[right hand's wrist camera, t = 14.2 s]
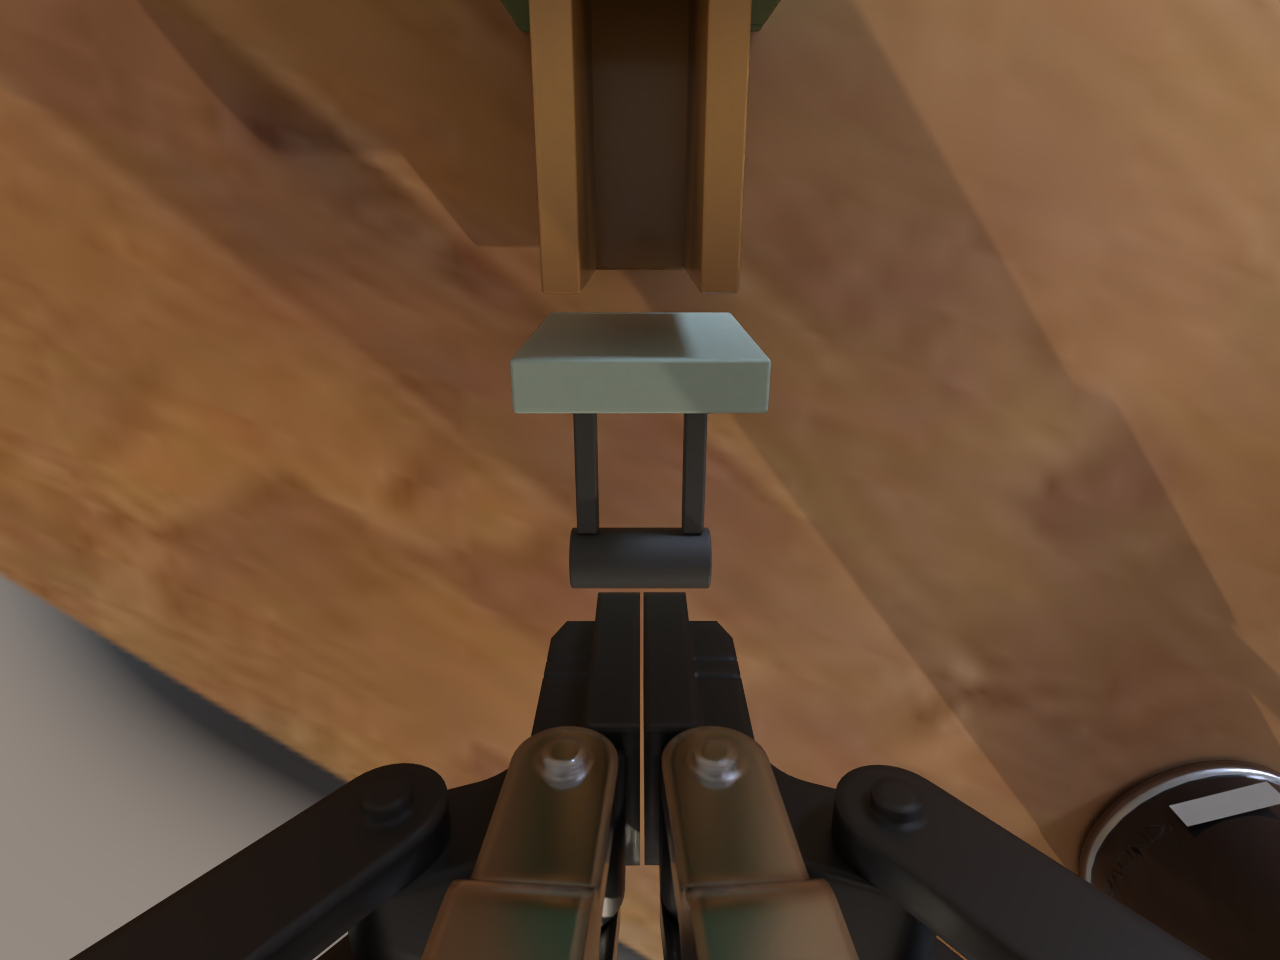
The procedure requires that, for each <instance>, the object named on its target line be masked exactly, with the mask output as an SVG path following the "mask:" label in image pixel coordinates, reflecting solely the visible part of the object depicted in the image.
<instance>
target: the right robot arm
mask: <svg viewBox="0 0 1280 960" xmlns="http://www.w3.org/2000/svg"><path fill="white" fill-rule="evenodd" d="M643 692H644V838H645V865H659V870H660V928H661V937H662V946H663V955H664V960H964V959H962V958H961V957H960V956H959V955H957V954H956V953H955V952H954V951H952V950H951V949H950V948H949V947H947V946H946V945H945V944H944V943H942V942H941V941H940V940H939V939H937V938H936V936H937V935H938V936H939V937H940V938H941V939H943V940H944V941H945V942H946V943H948V944H949V945H950V946H951V947H953V948H954V949H955V950H956V951H958V952H959V953H960V954H961V955H963V956H964V957H965V958H966V959H968V960H1280V773H1278V772H1276V771H1274V770H1272V769H1269V768H1267V767H1264V766H1261V765H1257V764H1253V763H1249V762H1243V761H1232V760H1216V761H1205V762H1198V763H1193V764H1188V765H1184V766H1180V767H1177V768H1173V769H1170V770H1168V771H1165V772H1162V773H1160V774H1157V775H1155V776H1153V777H1151V778H1149V779H1147V780H1145V781H1143V782H1141V783H1139V784H1138V785H1136V786H1135V787H1133V788H1131V789H1130V790H1128V791H1127V792H1126V793H1124V794H1123V795H1122V796H1120V797H1119V798H1118V799H1117V800H1115V801H1114V802H1113V803H1112V804H1111V805H1110V806H1109V807H1108V808H1107V809H1106V810H1105V811H1104V812H1103V813H1102V814H1101V816H1100V817H1099V818H1098V819H1097V821H1096V822H1095V823H1094V825H1093V826H1092V828H1091V829H1090V831H1089V833H1088V835H1087V837H1086V839H1085V841H1084V844H1083V847H1082V850H1081V854H1080V860H1079V875H1080V876H1078V875H1076V874H1075V873H1073V872H1072V871H1070V870H1069V869H1067V868H1065V867H1064V866H1062V865H1061V864H1059V863H1058V862H1056V861H1054V860H1053V859H1051V858H1050V857H1048V856H1047V855H1045V854H1043V853H1042V852H1040V851H1039V850H1037V849H1036V848H1034V847H1032V846H1031V845H1029V844H1028V843H1026V842H1025V841H1023V840H1021V839H1020V838H1018V837H1017V836H1015V835H1013V834H1012V833H1010V832H1009V831H1007V830H1006V829H1004V828H1002V827H1001V826H999V825H998V824H996V823H995V822H993V821H991V820H990V819H988V818H987V817H985V816H984V815H982V814H980V813H979V812H977V811H976V810H974V809H973V808H971V807H969V806H968V805H966V804H965V803H963V802H961V801H960V800H958V799H957V798H955V797H954V796H952V795H950V794H949V793H947V792H946V791H944V790H943V789H941V788H939V787H938V786H936V785H935V784H933V783H932V782H930V781H928V780H927V779H925V778H923V777H921V776H920V775H918V774H915V773H913V772H911V771H908V770H905V769H902V768H898V767H893V766H886V765H869V766H863V767H859V768H856V769H854V770H852V771H850V772H848V773H847V774H846V775H844V776H843V777H842V778H841V780H840V781H839V783H838V785H837V788H836V789H834V788H830V787H826V786H822V785H818V784H814V783H810V782H806V781H803V780H799V779H797V778H794V777H792V776H790V775H787V774H786V773H784V772H782V771H780V770H779V769H777V768H776V767H775V766H773V765H772V764H771V763H770V762H769V759H768V757H767V755H766V752H765V751H764V750H763V748H762V747H761V746H760V745H759V744H758V743H757V742H756V741H755V740H754V736H753V731H752V727H751V722H750V717H749V713H748V708H747V703H746V699H745V694H744V689H743V685H742V680H741V678H740V671H739V666H738V662H737V657H736V652H735V648H734V643H733V638H732V637H731V636H730V635H729V634H728V633H727V632H726V631H725V630H724V629H723V627H722V626H721V625H720V624H719V623H718V622H717V621H689V619H688V610H687V602H686V594H685V592H644V662H643ZM625 865H640V592H599V593H598V599H597V609H596V618H595V621H567V622H566V623H565V624H564V625H563V626H562V627H561V628H560V629H559V631H558V632H557V633H556V634H555V635H554V636H553V637H552V638H551V642H550V647H549V652H548V657H547V662H546V667H545V671H544V678H543V681H542V686H541V691H540V696H539V701H538V705H537V710H536V715H535V720H534V725H533V730H532V735H531V737H529V738H528V739H527V740H525V741H524V742H523V743H522V744H521V745H520V746H519V747H518V748H517V750H516V751H515V752H514V755H513V757H512V759H511V762H510V765H509V768H508V769H507V770H505V771H503V772H502V773H500V774H498V775H496V776H494V777H491V778H489V779H487V780H483V781H480V782H477V783H473V784H469V785H465V786H461V787H457V788H452V789H448V790H447V787H446V784H445V782H444V780H443V779H442V777H441V776H440V775H439V774H438V773H437V772H435V771H434V770H432V769H430V768H428V767H425V766H422V765H418V764H410V763H400V764H391V765H386V766H382V767H379V768H376V769H373V770H370V771H368V772H366V773H364V774H362V775H360V776H358V777H356V778H355V779H353V780H352V781H350V782H348V783H347V784H345V785H344V786H342V787H341V788H339V789H337V790H336V791H334V792H333V793H331V794H330V795H328V796H327V797H325V798H323V799H322V800H320V801H319V802H317V803H315V804H314V805H312V806H311V807H309V808H308V809H306V810H304V811H303V812H301V813H300V814H298V815H297V816H295V817H293V818H292V819H290V820H289V821H287V822H285V823H284V824H282V825H281V826H279V827H278V828H276V829H275V830H273V831H271V832H270V833H268V834H267V835H265V836H263V837H262V838H260V839H259V840H257V841H256V842H254V843H252V844H251V845H249V846H248V847H246V848H244V849H243V850H241V851H240V852H238V853H237V854H235V855H233V856H232V857H230V858H229V859H227V860H226V861H224V862H222V863H221V864H219V865H218V866H216V867H215V868H213V869H211V870H210V871H208V872H207V873H205V874H204V875H202V876H200V877H199V878H197V879H196V880H194V881H193V882H191V883H189V884H188V885H186V886H185V887H183V888H181V889H180V890H178V891H177V892H175V893H174V894H172V895H171V896H169V897H167V898H166V899H164V900H163V901H161V902H159V903H158V904H156V905H155V906H153V907H152V908H150V909H148V910H147V911H145V912H144V913H142V914H141V915H139V916H137V917H136V918H134V919H133V920H131V921H129V922H128V923H126V924H125V925H123V926H122V927H120V928H118V929H117V930H115V931H114V932H112V933H111V934H109V935H107V936H106V937H104V938H103V939H101V940H100V941H98V942H96V943H95V944H93V945H92V946H90V947H89V948H87V949H85V950H84V951H82V952H81V953H79V954H78V955H76V956H74V957H73V958H71V959H70V960H312V959H314V958H315V957H316V956H317V955H319V954H320V953H321V952H322V951H324V950H325V949H326V948H327V947H329V946H330V945H331V944H332V943H334V942H335V941H336V940H337V939H339V938H340V937H341V936H342V935H344V934H345V933H346V932H347V931H348V935H346V936H345V937H344V938H343V939H341V940H340V941H339V942H338V943H337V944H335V945H334V946H333V947H332V948H330V949H329V950H328V951H326V952H325V953H324V954H323V955H322V956H320V957H319V958H318V959H316V960H616V955H617V946H618V937H619V928H620V906H621V904H622V901H623V898H624V892H625Z"/></svg>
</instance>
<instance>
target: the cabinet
mask: <svg viewBox="0 0 1280 960" xmlns="http://www.w3.org/2000/svg"><path fill="white" fill-rule="evenodd" d="M501 2H502V3H503V5H504V6H505V8H506V9H507V11H508V12H509V14H510V15H511V17H512V18H513V20H514V21H515V23H516V24H517V26H518V27H519V29H520V30H521V31H530V18H529V0H501ZM779 2H780V0H752V7H751V29H750V31H759V30H760V29H761V28H762V26H763V25H764V24H765V22H766V21H767V19H768V18H769V16H770V15H771V13H772V12H773V10H774V9H775V8H776V6H777V5H778V3H779Z"/></svg>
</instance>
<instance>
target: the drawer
mask: <svg viewBox="0 0 1280 960" xmlns="http://www.w3.org/2000/svg"><path fill="white" fill-rule="evenodd" d="M751 7H752V0H529V18H530V40H531V62H532V84H533V106H534V127H535V149H536V171H537V193H538V215H539V237H540V259H541V281H542V292H543V293H580V291H581V290H582V289H583V287H584V286H585V284H586V283H587V281H588V280H589V279H590V277H591V276H592V274H593V273H594V272H595V270H685V271H686V272H687V273H688V275H689V276H690V278H691V279H692V280H693V282H694V283H695V285H696V286H697V287H698V289H699V290H700V292H701V293H738V291H739V274H740V251H741V229H742V207H743V185H744V163H745V140H746V118H747V96H748V74H749V51H750V29H751ZM770 369H771V361H770V359H769V358H768V357H767V356H766V355H765V353H764V352H763V351H762V350H761V349H760V347H759V346H758V345H757V344H756V343H755V342H754V340H753V339H752V338H751V337H750V336H749V335H748V333H747V332H746V331H745V330H744V329H743V327H742V326H741V325H740V324H739V323H738V322H737V320H736V319H735V318H734V317H733V316H732V315H731V313H550V314H549V315H548V316H547V318H546V319H545V320H544V321H543V322H542V324H541V325H540V326H539V327H538V328H537V329H536V331H535V332H534V333H533V334H532V335H531V337H530V338H529V339H528V340H527V341H526V343H525V344H524V345H523V346H522V347H521V348H520V350H519V351H518V352H517V353H516V354H515V356H514V357H513V358H512V359H511V361H510V373H511V389H512V405H513V411H514V412H515V413H573V418H574V448H575V479H576V509H577V528H572V531H571V536H570V550H569V571H570V583H571V587H572V588H709V586H710V582H711V565H712V557H711V538H710V531H709V529H708V528H704V502H705V471H706V440H707V413H766V412H767V410H768V402H769V385H770ZM597 413H684V437H683V484H682V528H599V496H598V450H597Z"/></svg>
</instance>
